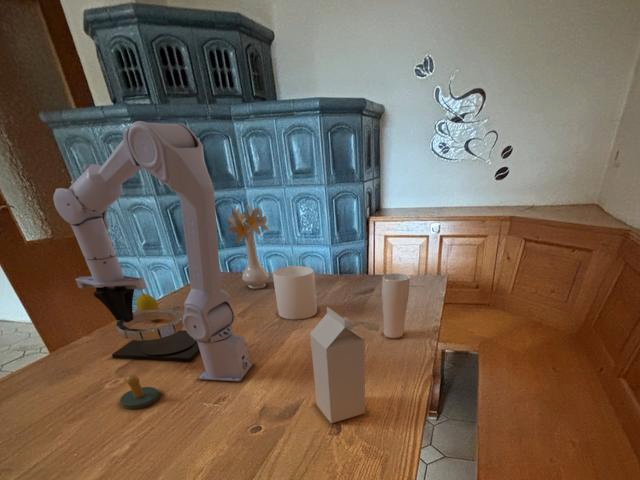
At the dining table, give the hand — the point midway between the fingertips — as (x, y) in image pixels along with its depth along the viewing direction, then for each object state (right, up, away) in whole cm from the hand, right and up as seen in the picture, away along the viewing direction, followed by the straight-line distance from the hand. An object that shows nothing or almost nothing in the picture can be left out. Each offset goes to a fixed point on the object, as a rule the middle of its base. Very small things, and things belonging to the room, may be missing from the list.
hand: (125, 320), depth 87 cm
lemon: (-8, +7, +25) cm, 27 cm away
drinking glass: (+62, 0, +15) cm, 64 cm away
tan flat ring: (+6, -2, 0) cm, 6 cm away
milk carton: (+50, -21, -13) cm, 56 cm away
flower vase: (+17, +27, +51) cm, 60 cm away
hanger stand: (+9, -19, -9) cm, 23 cm away
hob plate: (+4, -3, +11) cm, 12 cm away
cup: (+34, +11, +30) cm, 47 cm away
